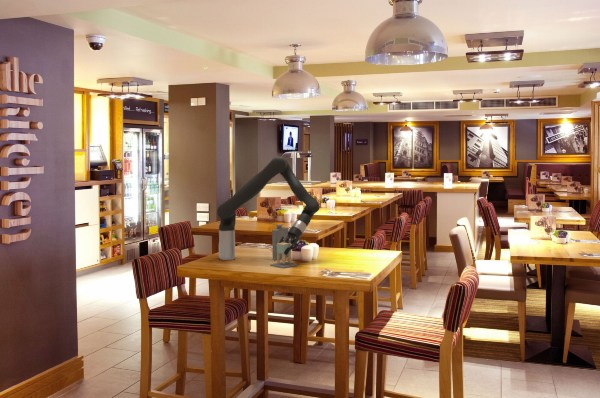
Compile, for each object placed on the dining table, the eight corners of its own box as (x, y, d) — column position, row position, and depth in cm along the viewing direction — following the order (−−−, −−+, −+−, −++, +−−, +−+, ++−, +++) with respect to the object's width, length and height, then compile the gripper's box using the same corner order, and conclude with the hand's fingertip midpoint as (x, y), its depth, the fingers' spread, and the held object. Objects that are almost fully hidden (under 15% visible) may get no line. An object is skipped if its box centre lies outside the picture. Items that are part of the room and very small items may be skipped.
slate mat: (270, 265, 345) (270, 264, 345) (285, 263, 352) (285, 261, 352) (283, 268, 337) (283, 266, 336) (298, 265, 344) (298, 264, 344)
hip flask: (276, 260, 360) (275, 226, 359) (270, 259, 362) (269, 226, 361) (289, 256, 374) (289, 223, 373) (283, 255, 376) (283, 222, 375)
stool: (277, 262, 344) (276, 243, 343) (284, 261, 348) (284, 242, 347) (283, 263, 340) (283, 244, 339) (291, 262, 344) (290, 243, 343)
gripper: (285, 224, 353) (269, 247, 346) (302, 226, 342) (286, 250, 335) (292, 232, 357) (276, 256, 350) (309, 235, 346) (293, 259, 339)
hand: (281, 253), depth 343 cm, fingers closed on stool, 5 cm apart
